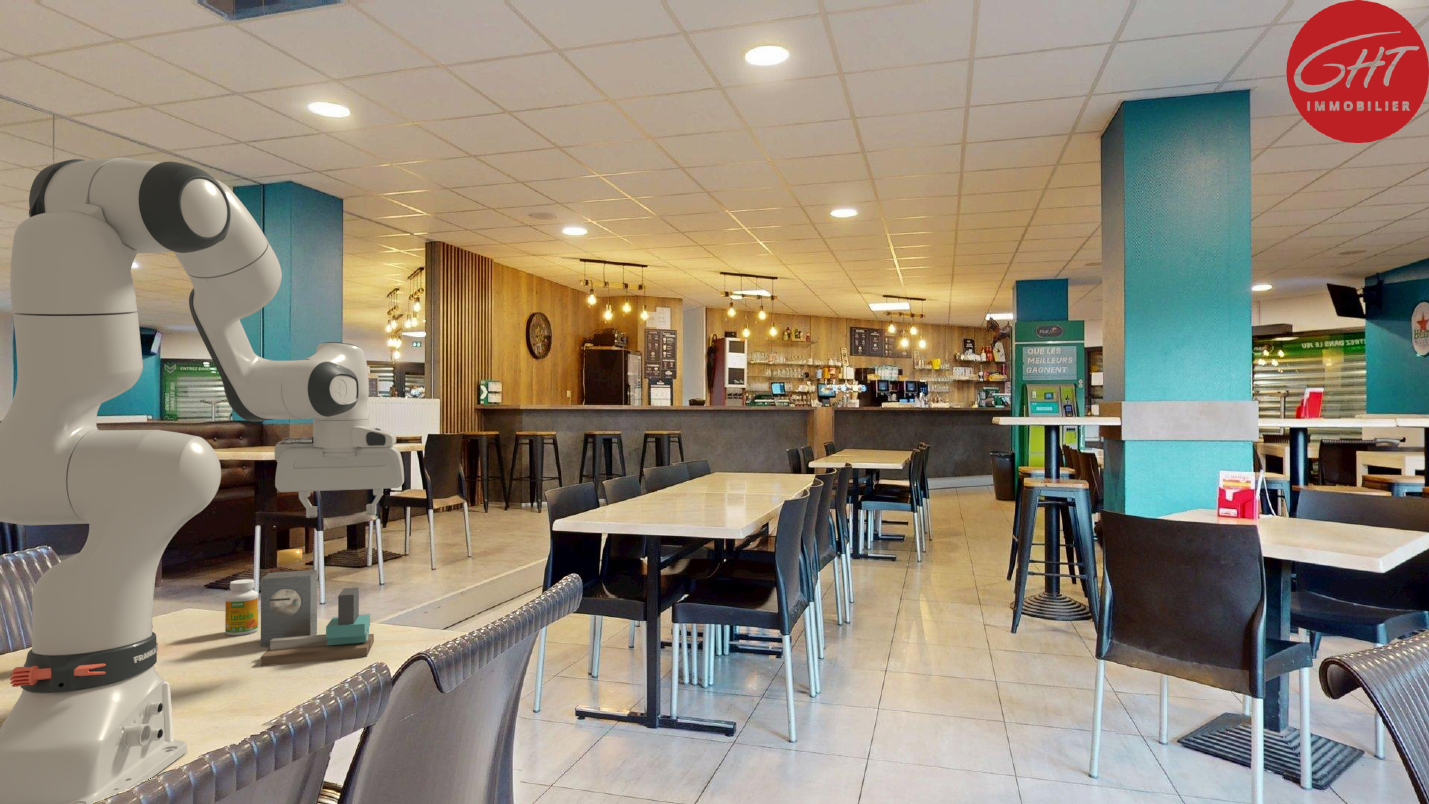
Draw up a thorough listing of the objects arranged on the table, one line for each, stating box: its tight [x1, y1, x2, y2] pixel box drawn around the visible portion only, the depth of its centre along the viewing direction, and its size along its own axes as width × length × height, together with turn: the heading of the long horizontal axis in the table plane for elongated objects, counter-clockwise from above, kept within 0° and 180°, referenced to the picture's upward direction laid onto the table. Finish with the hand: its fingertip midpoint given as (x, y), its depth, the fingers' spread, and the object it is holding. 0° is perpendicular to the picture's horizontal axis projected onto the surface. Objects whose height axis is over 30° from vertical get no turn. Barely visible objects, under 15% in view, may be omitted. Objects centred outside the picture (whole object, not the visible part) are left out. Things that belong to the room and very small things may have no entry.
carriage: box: [325, 587, 371, 645], centre depth 135 cm, size 7×6×8 cm
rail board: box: [260, 631, 375, 667], centre depth 134 cm, size 9×16×3 cm, turn 107°
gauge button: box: [276, 548, 303, 565], centre depth 143 cm, size 4×4×2 cm
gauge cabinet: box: [260, 569, 318, 648], centre depth 142 cm, size 7×8×12 cm
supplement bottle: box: [224, 578, 260, 637], centre depth 148 cm, size 5×5×10 cm
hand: (341, 516), depth 135 cm, fingers open, 8 cm apart
